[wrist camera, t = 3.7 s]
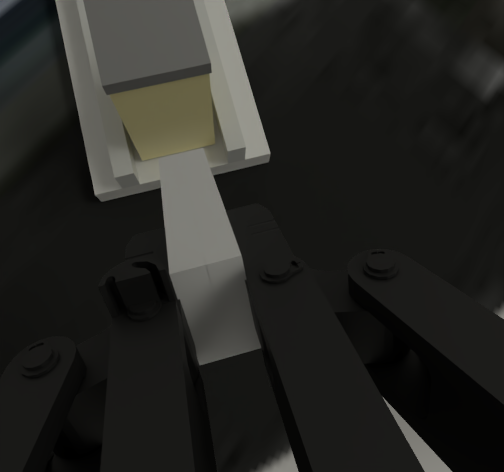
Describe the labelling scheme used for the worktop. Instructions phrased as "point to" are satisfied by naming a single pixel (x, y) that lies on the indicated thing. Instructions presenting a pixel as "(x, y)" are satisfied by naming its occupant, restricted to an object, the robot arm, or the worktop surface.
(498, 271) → the worktop surface
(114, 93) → the grey-capped yellow block
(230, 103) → the grey channel fixture
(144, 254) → the robot arm
